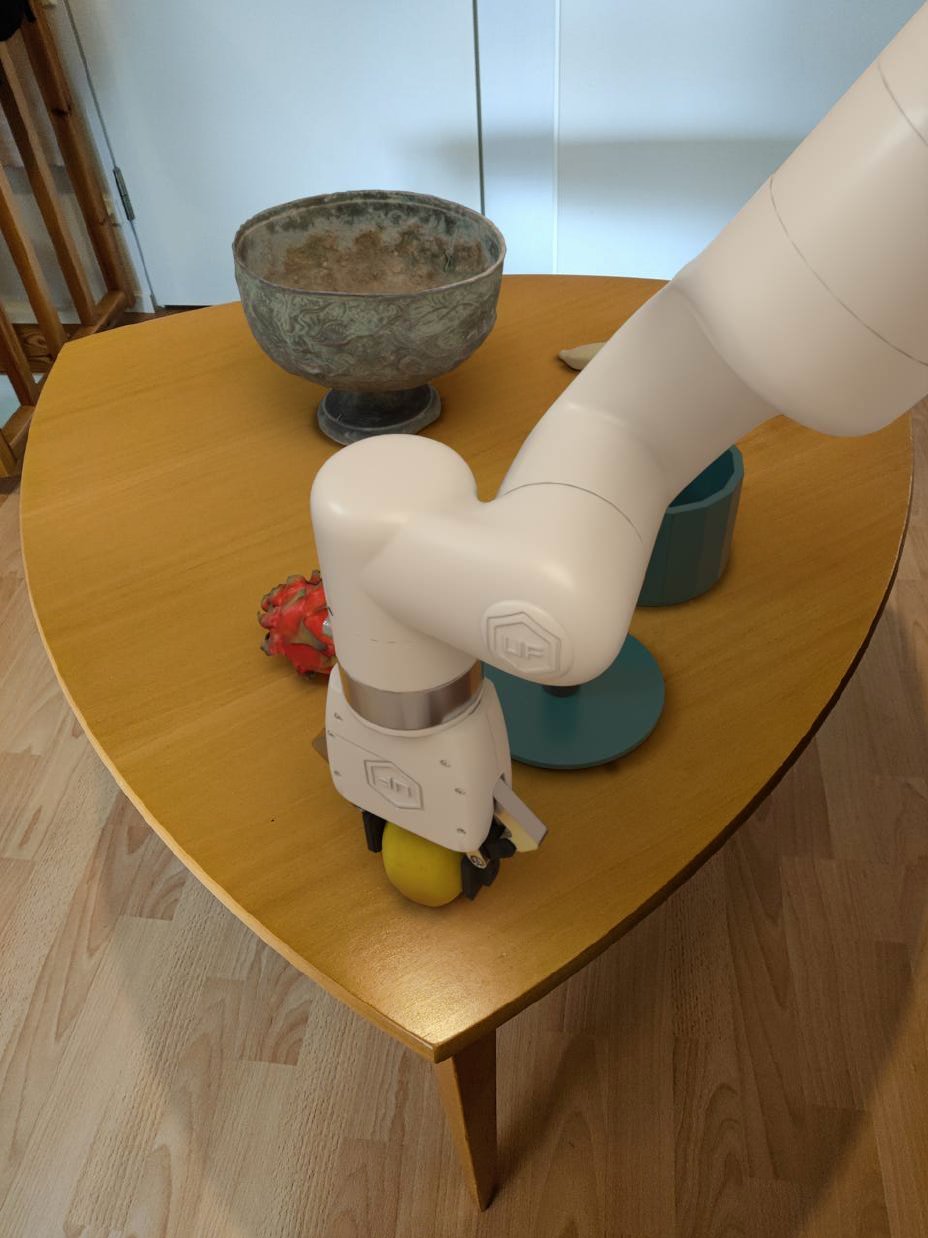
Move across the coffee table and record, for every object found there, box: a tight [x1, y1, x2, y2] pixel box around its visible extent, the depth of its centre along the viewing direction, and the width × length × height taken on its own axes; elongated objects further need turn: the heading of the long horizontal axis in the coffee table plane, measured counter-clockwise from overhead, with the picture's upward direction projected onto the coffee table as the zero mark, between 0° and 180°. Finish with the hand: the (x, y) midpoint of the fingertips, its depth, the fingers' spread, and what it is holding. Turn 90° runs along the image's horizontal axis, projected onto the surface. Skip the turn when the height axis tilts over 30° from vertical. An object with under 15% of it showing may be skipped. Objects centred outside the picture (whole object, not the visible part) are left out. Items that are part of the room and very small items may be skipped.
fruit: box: [558, 340, 609, 371], centre depth 114 cm, size 7×15×3 cm, turn 119°
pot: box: [636, 443, 745, 607], centre depth 86 cm, size 15×15×10 cm
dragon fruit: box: [256, 569, 337, 682], centre depth 79 cm, size 8×8×12 cm
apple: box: [381, 821, 466, 908], centre depth 63 cm, size 6×6×8 cm
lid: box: [484, 632, 666, 770], centre depth 75 cm, size 16×16×7 cm
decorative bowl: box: [231, 189, 508, 447], centre depth 102 cm, size 26×26×20 cm
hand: (432, 856), depth 64 cm, fingers closed on apple, 6 cm apart
